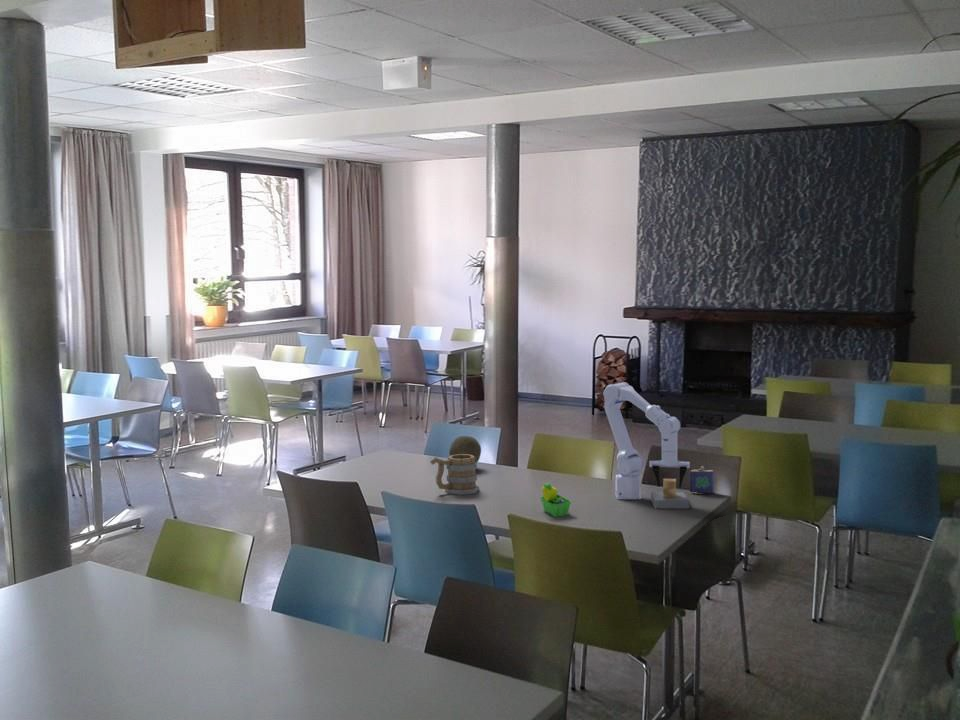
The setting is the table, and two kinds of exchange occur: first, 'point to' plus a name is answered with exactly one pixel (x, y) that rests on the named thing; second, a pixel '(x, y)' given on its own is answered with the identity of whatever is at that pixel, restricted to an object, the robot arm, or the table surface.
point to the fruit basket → (554, 501)
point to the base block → (669, 500)
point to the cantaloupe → (466, 447)
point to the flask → (702, 481)
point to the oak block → (669, 488)
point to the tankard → (457, 474)
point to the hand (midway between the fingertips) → (669, 486)
